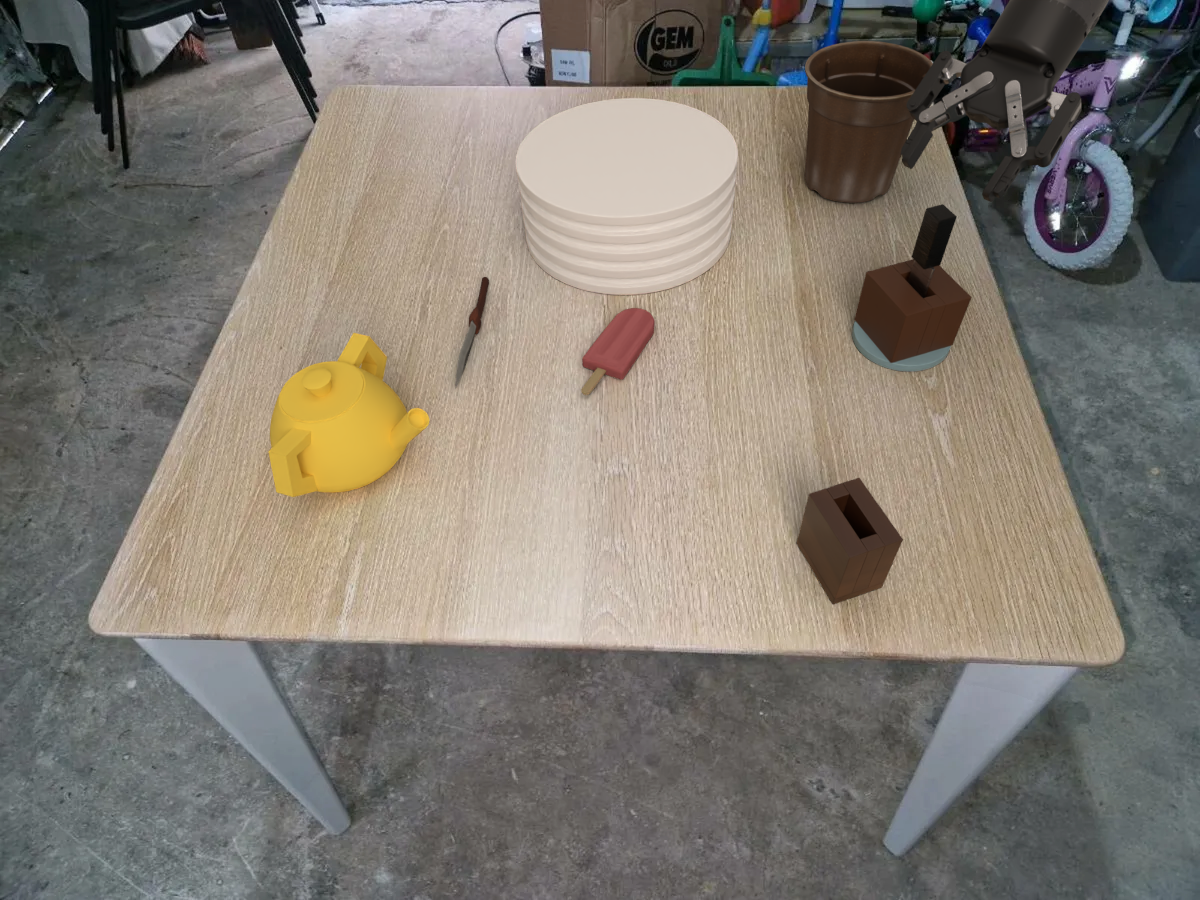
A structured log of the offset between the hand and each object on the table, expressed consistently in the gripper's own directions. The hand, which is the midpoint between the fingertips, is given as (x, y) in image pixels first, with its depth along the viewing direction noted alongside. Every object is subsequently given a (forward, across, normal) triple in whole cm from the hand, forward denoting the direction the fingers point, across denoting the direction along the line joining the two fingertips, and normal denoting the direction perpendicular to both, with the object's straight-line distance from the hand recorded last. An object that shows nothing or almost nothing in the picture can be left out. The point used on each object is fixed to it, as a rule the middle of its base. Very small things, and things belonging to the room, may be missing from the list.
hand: (945, 181), depth 76 cm
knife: (+39, -37, -9) cm, 54 cm away
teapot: (+52, -31, -22) cm, 65 cm away
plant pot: (-2, -24, +32) cm, 40 cm away
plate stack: (+18, -39, +12) cm, 44 cm away
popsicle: (+32, -22, -2) cm, 39 cm away
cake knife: (+13, 0, +15) cm, 20 cm away
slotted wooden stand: (+14, 0, +16) cm, 21 cm away
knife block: (+35, +13, -6) cm, 38 cm away
